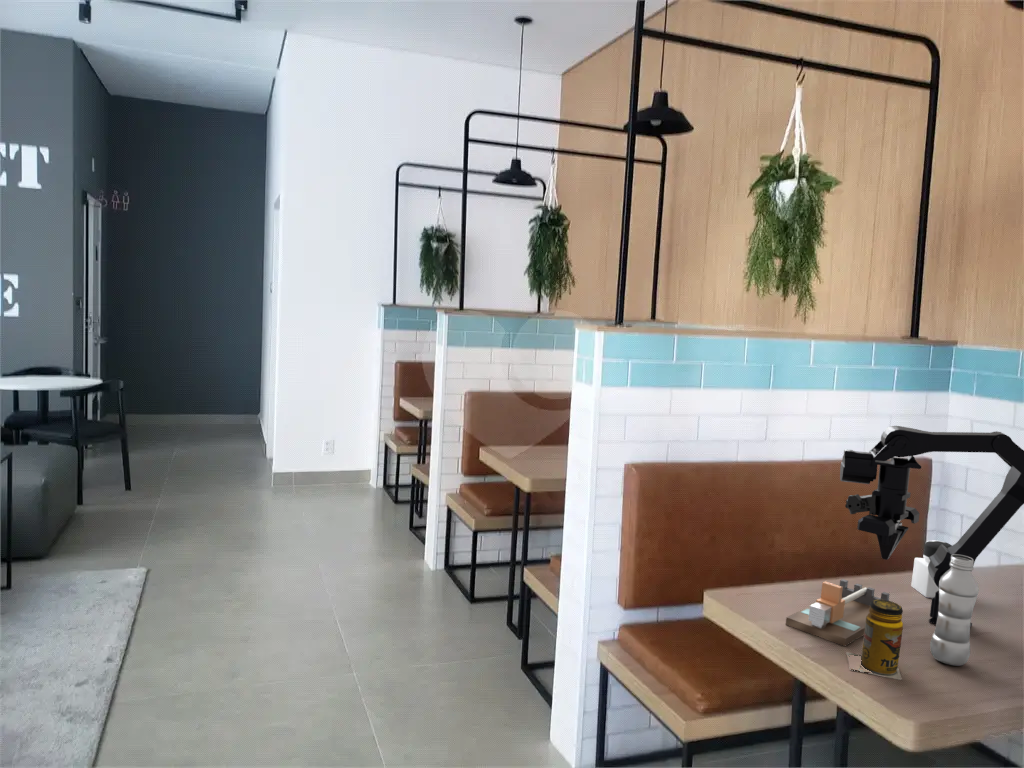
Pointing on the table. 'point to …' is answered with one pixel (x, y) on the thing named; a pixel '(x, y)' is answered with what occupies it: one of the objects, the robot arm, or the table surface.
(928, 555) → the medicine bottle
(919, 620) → the table surface
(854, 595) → the cord
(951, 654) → the plastic bottle
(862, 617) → the cord board
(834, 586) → the orange stepped block
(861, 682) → the table surface
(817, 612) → the block
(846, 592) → the cable comb
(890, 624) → the condiment
